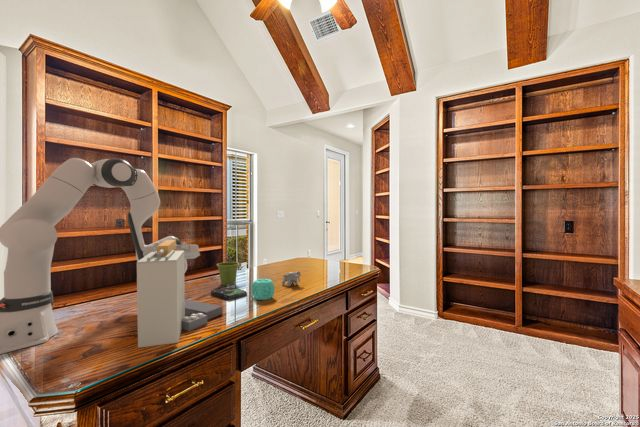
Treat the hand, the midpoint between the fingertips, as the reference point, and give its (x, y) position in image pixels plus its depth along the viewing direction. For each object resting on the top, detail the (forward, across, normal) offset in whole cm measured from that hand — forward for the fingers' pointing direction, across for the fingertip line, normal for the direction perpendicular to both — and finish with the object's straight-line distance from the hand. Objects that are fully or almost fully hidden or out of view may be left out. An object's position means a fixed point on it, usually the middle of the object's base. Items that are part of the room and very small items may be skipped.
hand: (169, 244), depth 120 cm
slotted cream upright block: (-1, 0, -32) cm, 32 cm away
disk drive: (-34, -22, -13) cm, 43 cm away
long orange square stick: (+8, 0, -7) cm, 11 cm away
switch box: (-3, -9, -31) cm, 32 cm away
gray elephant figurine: (-41, -56, -9) cm, 70 cm away
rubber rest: (-15, -9, -24) cm, 29 cm away
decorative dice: (-26, -38, -18) cm, 49 cm away
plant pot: (-54, -23, -2) cm, 58 cm away
